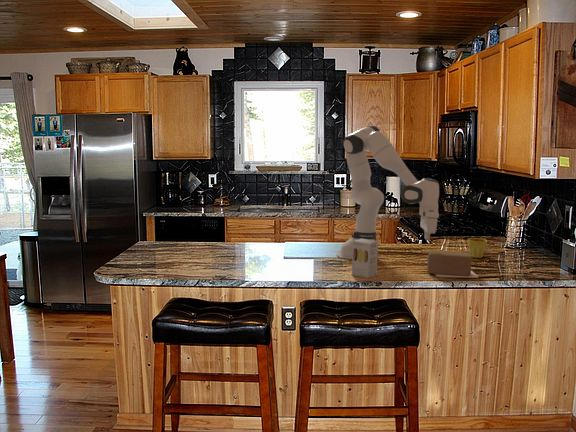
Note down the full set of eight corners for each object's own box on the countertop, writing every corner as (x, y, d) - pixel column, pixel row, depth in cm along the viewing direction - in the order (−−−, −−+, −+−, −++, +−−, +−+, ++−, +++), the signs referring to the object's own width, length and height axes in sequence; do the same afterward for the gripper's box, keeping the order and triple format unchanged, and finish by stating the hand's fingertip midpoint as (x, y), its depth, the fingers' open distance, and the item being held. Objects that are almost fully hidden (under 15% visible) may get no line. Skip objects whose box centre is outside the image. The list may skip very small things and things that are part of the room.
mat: (436, 276, 275) (436, 275, 275) (429, 268, 291) (429, 267, 291) (478, 277, 275) (478, 276, 275) (469, 269, 290) (469, 268, 290)
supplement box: (350, 275, 275) (352, 240, 272) (359, 271, 282) (361, 237, 280) (368, 278, 269) (370, 243, 267) (377, 274, 277) (379, 240, 274)
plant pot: (479, 259, 315) (480, 242, 314) (463, 256, 323) (464, 239, 322) (489, 257, 322) (491, 240, 321) (473, 253, 330) (474, 237, 328)
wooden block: (427, 274, 277) (470, 276, 274) (429, 253, 276) (472, 256, 272) (427, 269, 287) (468, 272, 283) (428, 249, 286) (469, 252, 282)
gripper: (418, 208, 289) (416, 235, 291) (426, 214, 269) (424, 243, 271) (430, 209, 289) (429, 235, 291) (439, 214, 269) (437, 243, 271)
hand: (426, 239), depth 281 cm, fingers closed
